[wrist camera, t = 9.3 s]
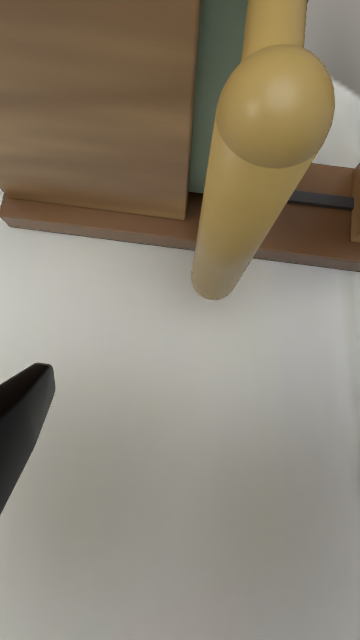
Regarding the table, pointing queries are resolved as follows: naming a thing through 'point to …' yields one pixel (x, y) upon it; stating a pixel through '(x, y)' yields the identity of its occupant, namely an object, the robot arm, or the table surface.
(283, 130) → the door
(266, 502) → the table surface
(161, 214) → the door frame
